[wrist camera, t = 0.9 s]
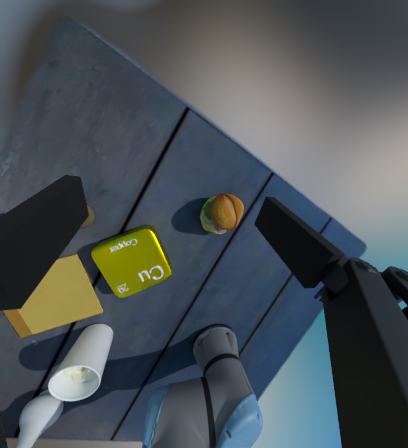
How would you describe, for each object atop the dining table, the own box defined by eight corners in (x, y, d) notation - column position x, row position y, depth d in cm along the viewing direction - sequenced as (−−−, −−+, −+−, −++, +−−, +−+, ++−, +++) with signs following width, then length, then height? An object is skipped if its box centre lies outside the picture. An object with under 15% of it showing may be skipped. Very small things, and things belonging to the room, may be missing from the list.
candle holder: (98, 354, 48) (77, 407, 36) (69, 338, 45) (36, 390, 33) (124, 332, 48) (110, 378, 36) (96, 314, 45) (72, 358, 33)
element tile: (152, 222, 42) (150, 226, 38) (173, 268, 47) (174, 278, 42) (94, 243, 40) (85, 251, 36) (122, 290, 45) (117, 302, 40)
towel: (103, 311, 45) (102, 312, 44) (22, 336, 42) (20, 338, 41) (77, 253, 40) (76, 254, 40) (-17, 277, 37) (-20, 278, 36)
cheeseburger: (188, 217, 44) (201, 216, 35) (211, 188, 46) (229, 180, 37) (214, 239, 47) (232, 244, 38) (235, 211, 49) (256, 209, 40)
